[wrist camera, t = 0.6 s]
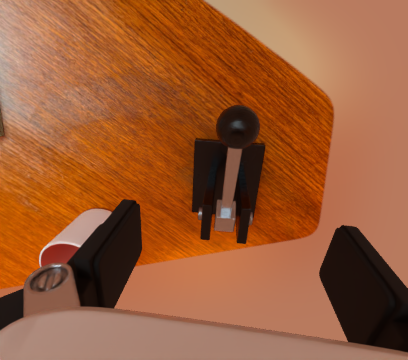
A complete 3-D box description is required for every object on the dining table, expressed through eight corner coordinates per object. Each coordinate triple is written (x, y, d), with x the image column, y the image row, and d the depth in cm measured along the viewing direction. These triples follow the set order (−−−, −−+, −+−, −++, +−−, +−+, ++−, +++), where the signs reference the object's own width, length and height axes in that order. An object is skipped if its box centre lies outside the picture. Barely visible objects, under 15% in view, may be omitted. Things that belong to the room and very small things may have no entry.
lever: (218, 95, 17) (215, 119, 15) (262, 98, 17) (265, 123, 15) (211, 209, 28) (209, 233, 26) (237, 212, 28) (237, 236, 26)
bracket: (195, 138, 34) (178, 168, 22) (264, 143, 33) (283, 177, 22) (192, 208, 39) (177, 263, 27) (252, 214, 38) (263, 273, 27)
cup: (140, 246, 43) (116, 291, 34) (93, 254, 45) (59, 298, 36) (119, 200, 40) (86, 236, 31) (70, 211, 42) (25, 247, 32)
